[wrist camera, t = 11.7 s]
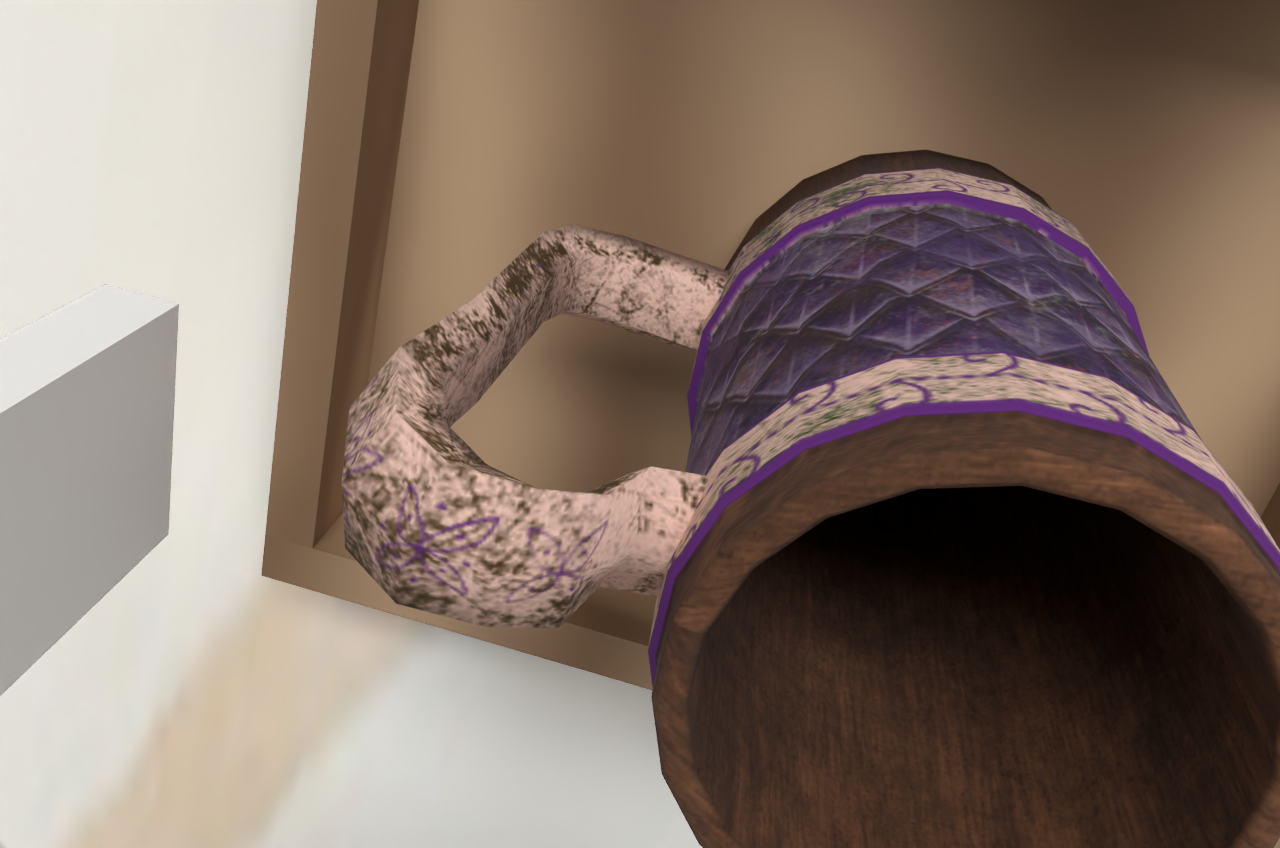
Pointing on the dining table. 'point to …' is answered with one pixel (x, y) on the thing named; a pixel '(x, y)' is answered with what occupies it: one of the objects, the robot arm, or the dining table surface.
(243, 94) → the dining table surface
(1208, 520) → the mug
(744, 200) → the wooden divided tray
